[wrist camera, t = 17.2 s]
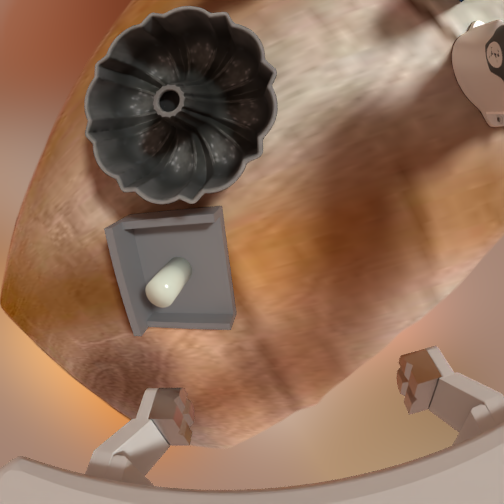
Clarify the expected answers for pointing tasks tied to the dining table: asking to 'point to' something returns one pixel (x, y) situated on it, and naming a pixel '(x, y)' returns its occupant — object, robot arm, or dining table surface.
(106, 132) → the bundt pan
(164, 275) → the dome-topped cream cylinder
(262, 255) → the dining table surface
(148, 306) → the grey open tray
